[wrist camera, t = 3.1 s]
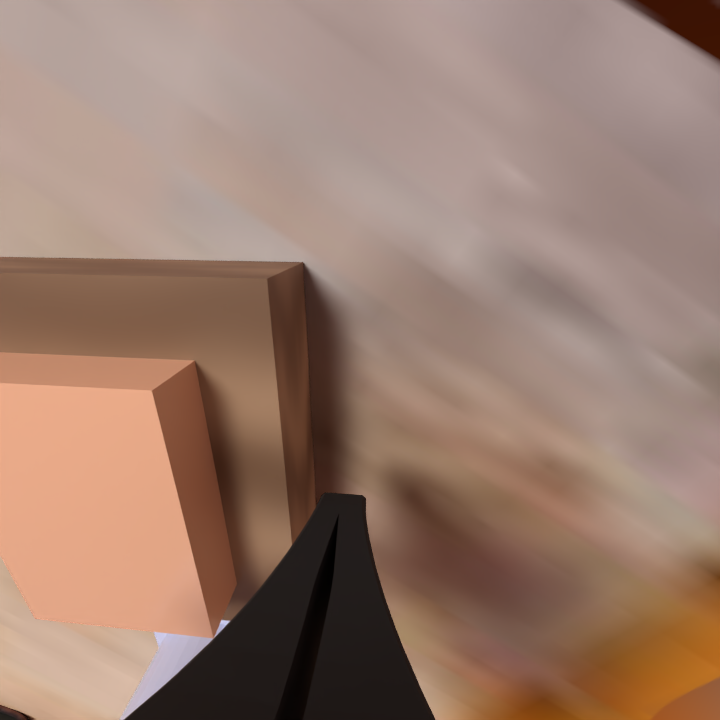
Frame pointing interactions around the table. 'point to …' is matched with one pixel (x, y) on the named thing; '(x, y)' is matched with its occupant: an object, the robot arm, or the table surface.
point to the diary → (10, 714)
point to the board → (214, 369)
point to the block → (112, 493)
